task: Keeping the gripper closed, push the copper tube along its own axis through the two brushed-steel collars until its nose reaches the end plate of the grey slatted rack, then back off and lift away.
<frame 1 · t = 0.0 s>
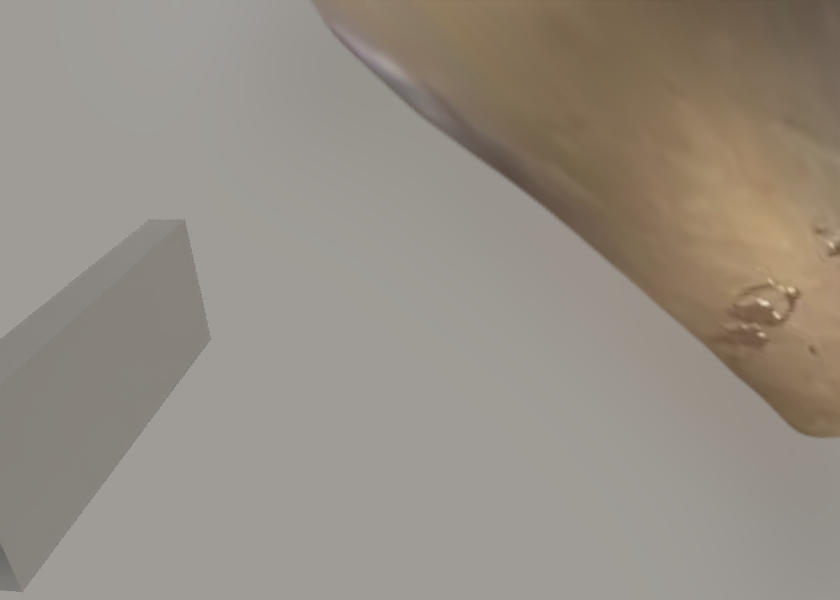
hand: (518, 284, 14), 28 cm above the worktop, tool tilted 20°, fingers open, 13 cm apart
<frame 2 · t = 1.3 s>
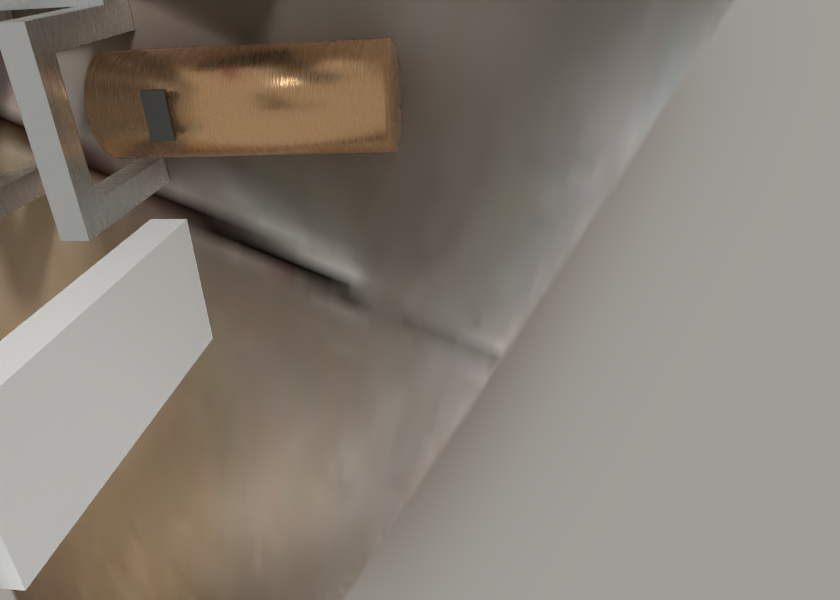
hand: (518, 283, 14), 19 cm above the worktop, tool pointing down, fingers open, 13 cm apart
grey slatted rack: (36, 99, 33), on the worktop
tube: (267, 90, 32), on the worktop
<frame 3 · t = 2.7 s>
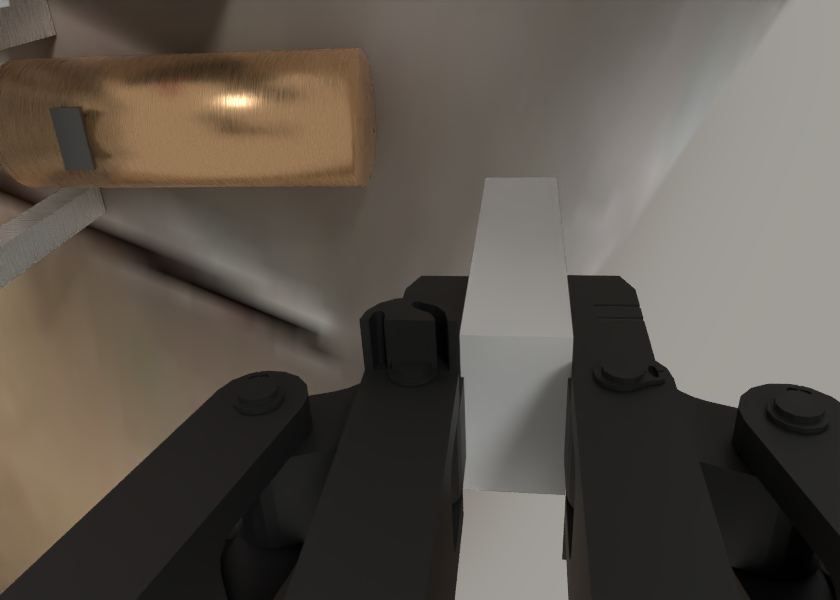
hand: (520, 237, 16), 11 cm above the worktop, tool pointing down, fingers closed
tube: (215, 108, 27), on the worktop
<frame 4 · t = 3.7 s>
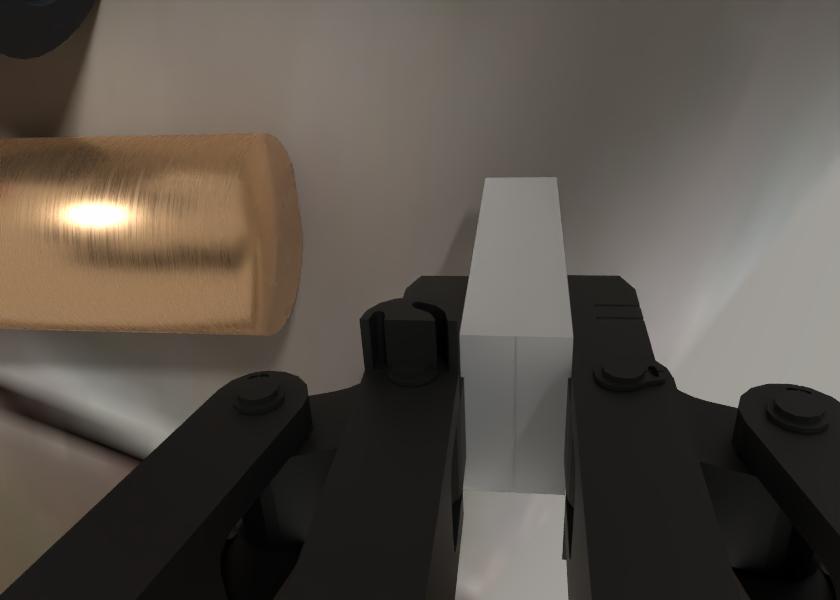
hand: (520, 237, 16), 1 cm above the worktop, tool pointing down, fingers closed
tube: (78, 210, 19), on the worktop, tilted 6°
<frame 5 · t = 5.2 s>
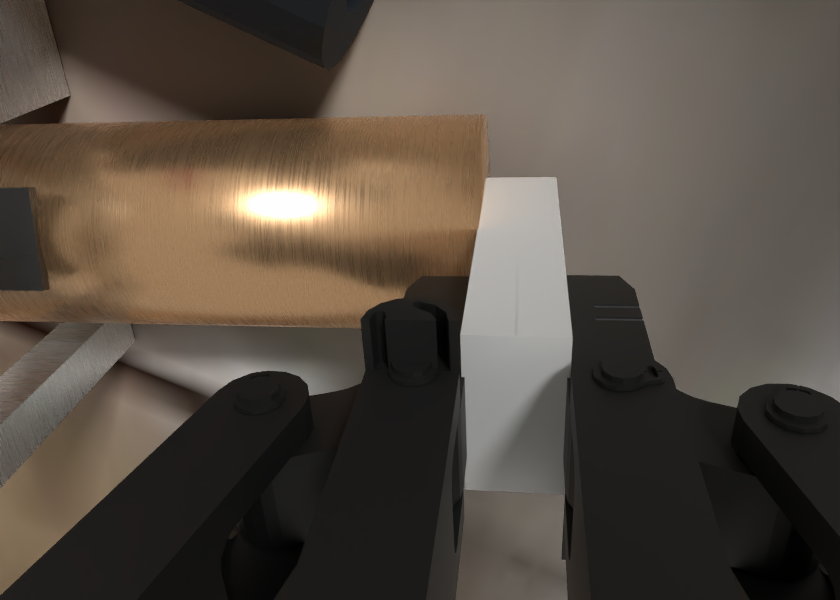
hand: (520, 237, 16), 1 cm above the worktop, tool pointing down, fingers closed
tube: (246, 212, 18), on the worktop, tilted 14°, touching gripper
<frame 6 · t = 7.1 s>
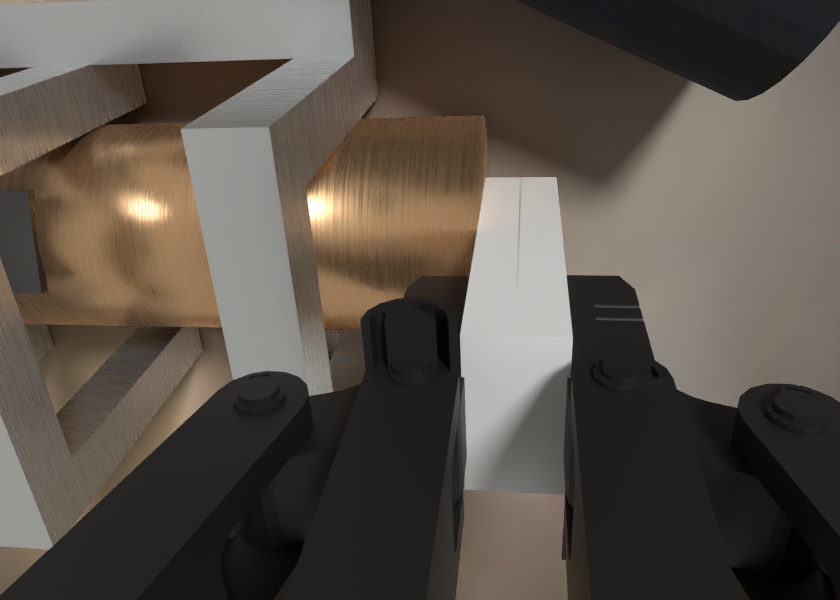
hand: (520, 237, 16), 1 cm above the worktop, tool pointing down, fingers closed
grey slatted rack: (168, 214, 18), on the worktop
tube: (245, 214, 18), on the worktop, tilted 14°, touching gripper
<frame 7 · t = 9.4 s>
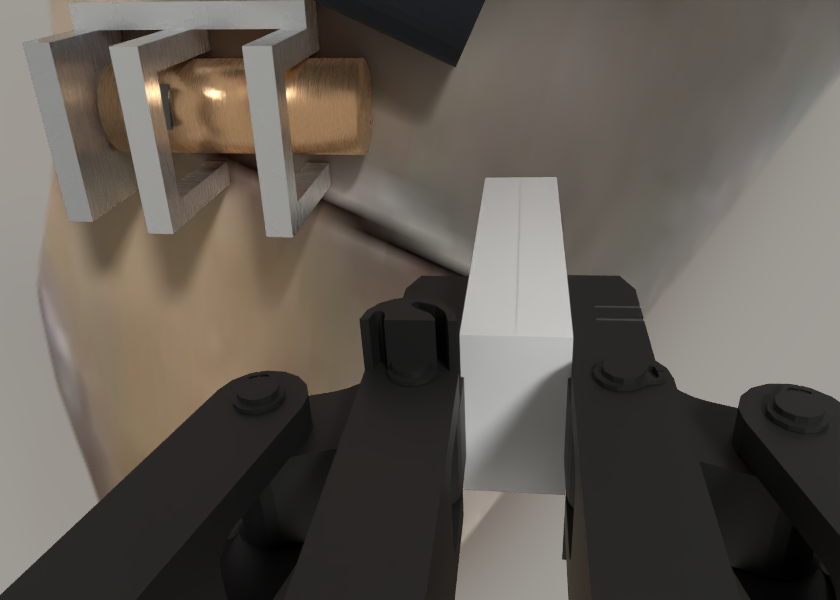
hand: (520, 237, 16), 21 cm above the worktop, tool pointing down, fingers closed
grey slatted rack: (217, 107, 37), on the worktop
tube: (256, 105, 37), on the worktop, tilted 12°
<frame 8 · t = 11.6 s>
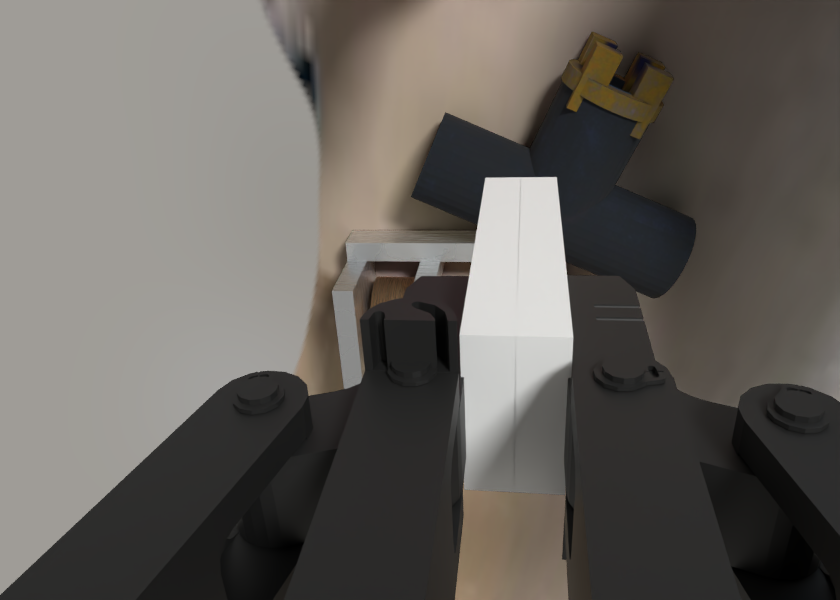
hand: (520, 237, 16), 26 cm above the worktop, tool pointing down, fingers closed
pipe connector: (574, 141, 41), on the worktop
grey slatted rack: (444, 304, 47), on the worktop
tube: (475, 302, 47), on the worktop, tilted 11°
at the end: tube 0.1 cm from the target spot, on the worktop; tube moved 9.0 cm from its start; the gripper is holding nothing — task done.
